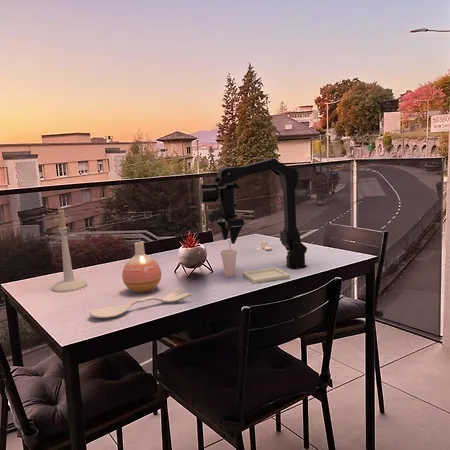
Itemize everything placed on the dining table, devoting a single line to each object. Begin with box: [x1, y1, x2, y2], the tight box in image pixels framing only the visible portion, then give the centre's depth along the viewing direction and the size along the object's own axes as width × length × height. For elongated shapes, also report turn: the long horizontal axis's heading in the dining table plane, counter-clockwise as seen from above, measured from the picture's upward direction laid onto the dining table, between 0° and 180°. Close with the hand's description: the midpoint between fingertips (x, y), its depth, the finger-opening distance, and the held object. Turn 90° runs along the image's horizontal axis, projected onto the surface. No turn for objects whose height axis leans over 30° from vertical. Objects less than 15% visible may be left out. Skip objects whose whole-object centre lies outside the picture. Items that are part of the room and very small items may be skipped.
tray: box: [241, 267, 291, 285], centre depth 174 cm, size 14×12×2 cm
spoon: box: [88, 287, 192, 319], centre depth 146 cm, size 9×32×4 cm, turn 120°
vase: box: [121, 241, 162, 294], centre depth 164 cm, size 14×14×18 cm
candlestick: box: [51, 209, 88, 293], centre depth 174 cm, size 13×13×30 cm
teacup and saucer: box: [256, 240, 274, 252], centre depth 222 cm, size 9×8×4 cm
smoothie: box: [220, 239, 238, 278], centre depth 178 cm, size 6×6×14 cm
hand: (229, 241), depth 177 cm, fingers open, 9 cm apart
